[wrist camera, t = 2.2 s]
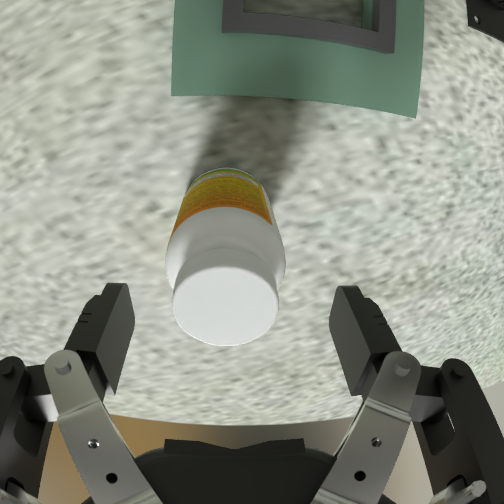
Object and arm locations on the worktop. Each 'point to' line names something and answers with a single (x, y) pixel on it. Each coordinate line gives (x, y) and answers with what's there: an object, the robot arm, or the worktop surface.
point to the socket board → (300, 54)
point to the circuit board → (487, 17)
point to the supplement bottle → (225, 259)
